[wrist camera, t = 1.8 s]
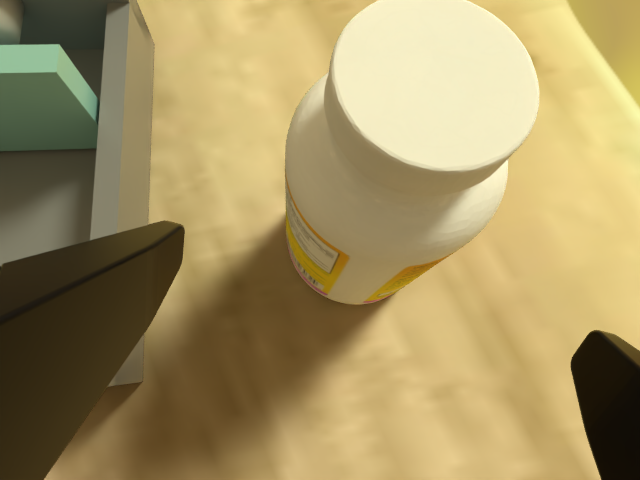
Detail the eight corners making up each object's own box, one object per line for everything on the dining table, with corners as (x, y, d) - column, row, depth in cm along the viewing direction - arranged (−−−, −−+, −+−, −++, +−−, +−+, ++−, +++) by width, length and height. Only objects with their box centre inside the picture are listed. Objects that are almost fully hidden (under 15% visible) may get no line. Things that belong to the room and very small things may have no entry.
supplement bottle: (427, 199, 22) (599, -1, 10) (402, 321, 21) (578, 260, 8) (304, 165, 22) (328, -75, 10) (269, 285, 20) (243, 169, 8)
